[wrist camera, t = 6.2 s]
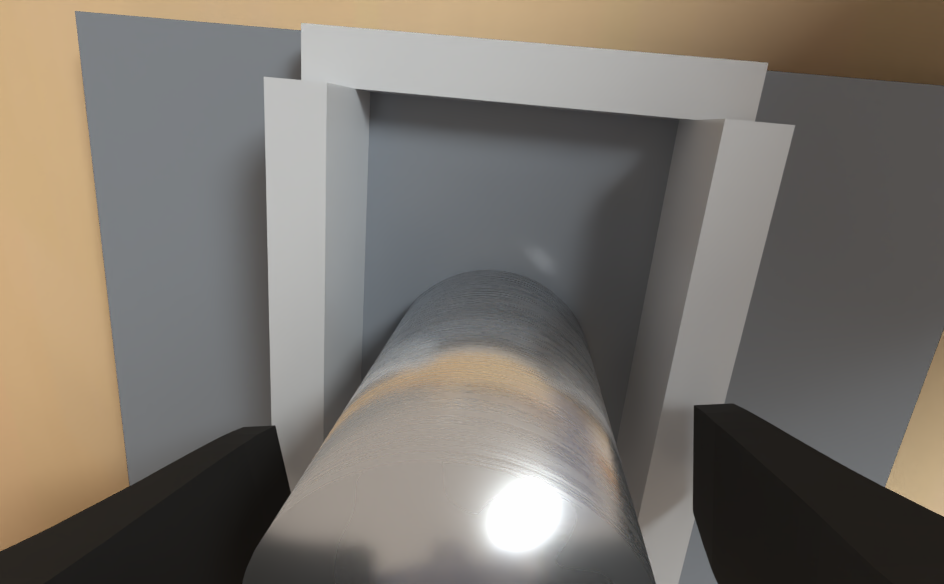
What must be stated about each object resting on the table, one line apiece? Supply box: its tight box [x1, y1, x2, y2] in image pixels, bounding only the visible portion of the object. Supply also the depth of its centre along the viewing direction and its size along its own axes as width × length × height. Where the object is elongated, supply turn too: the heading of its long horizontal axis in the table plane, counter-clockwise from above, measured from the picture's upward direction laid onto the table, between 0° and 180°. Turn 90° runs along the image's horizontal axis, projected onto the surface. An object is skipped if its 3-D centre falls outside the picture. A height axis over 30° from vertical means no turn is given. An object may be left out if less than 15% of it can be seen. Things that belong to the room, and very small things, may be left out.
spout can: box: [242, 270, 656, 584], centre depth 8 cm, size 4×4×8 cm
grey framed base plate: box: [75, 11, 944, 584], centre depth 12 cm, size 18×14×4 cm
